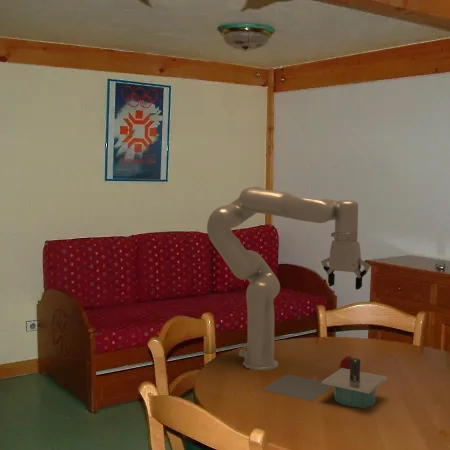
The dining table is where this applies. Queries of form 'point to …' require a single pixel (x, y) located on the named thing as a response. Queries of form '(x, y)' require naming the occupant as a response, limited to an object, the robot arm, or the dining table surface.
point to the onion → (346, 362)
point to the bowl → (354, 397)
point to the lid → (354, 378)
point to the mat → (298, 387)
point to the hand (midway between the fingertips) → (344, 287)
